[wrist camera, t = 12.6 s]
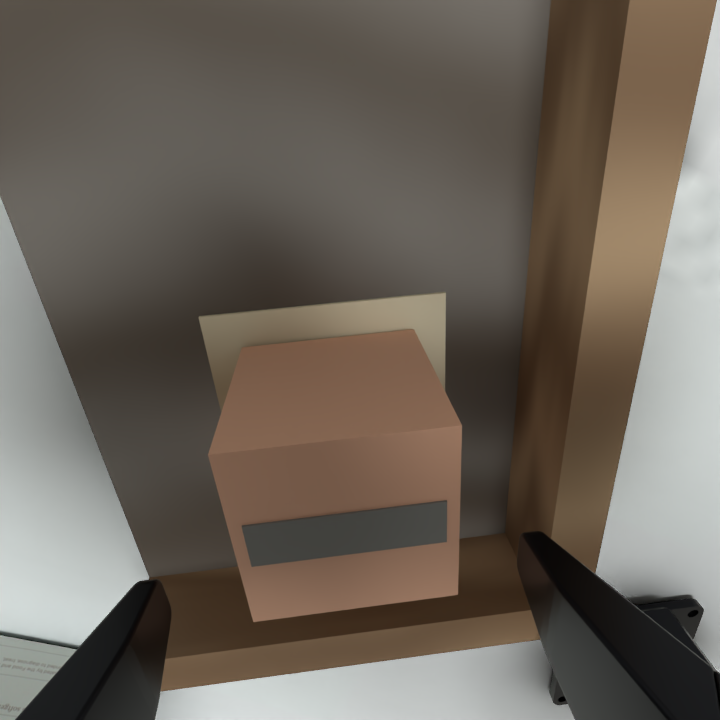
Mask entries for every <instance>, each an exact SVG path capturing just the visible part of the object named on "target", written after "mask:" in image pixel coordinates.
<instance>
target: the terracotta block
mask: <svg viewBox="0 0 720 720" xmlns="http://www.w3.org/2000/svg"><path fill="white" fill-rule="evenodd" d="M461 449H462V424H461V422H460V420H459V418H458V416H457V414H456V412H455V410H454V408H453V406H452V404H451V402H450V400H449V398H448V396H447V394H446V392H445V390H444V388H443V386H442V384H441V382H440V380H439V378H438V376H437V374H436V372H435V370H434V368H433V366H432V364H431V362H430V360H429V358H428V356H427V354H426V352H425V350H424V348H423V346H422V344H421V342H420V340H419V338H418V336H417V334H416V332H415V330H414V329H411V330H401V331H392V332H383V333H373V334H364V335H354V336H345V337H336V338H326V339H317V340H307V341H298V342H288V343H279V344H270V345H260V346H251V347H242V349H241V352H240V355H239V358H238V361H237V364H236V368H235V371H234V374H233V377H232V380H231V383H230V387H229V390H228V393H227V396H226V399H225V402H224V406H223V409H222V412H221V415H220V418H219V421H218V425H217V428H216V431H215V434H214V437H213V440H212V444H211V447H210V450H209V453H208V457H209V461H210V464H211V468H212V472H213V475H214V479H215V483H216V486H217V490H218V494H219V497H220V501H221V505H222V509H223V512H224V516H225V520H226V523H227V527H228V531H229V534H230V538H231V542H232V545H233V549H234V553H235V557H236V560H237V564H238V568H239V571H240V575H241V579H242V582H243V586H244V590H245V593H246V597H247V601H248V604H249V608H250V612H251V616H252V619H253V622H258V621H266V620H273V619H281V618H288V617H296V616H303V615H311V614H318V613H326V612H333V611H341V610H348V609H356V608H363V607H371V606H378V605H386V604H393V603H401V602H408V601H416V600H423V599H431V598H438V597H446V596H453V595H458V575H459V533H460V491H461Z"/></svg>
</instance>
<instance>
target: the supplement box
mask: <svg viewBox="0 0 720 720" xmlns="http://www.w3.org/2000/svg"><path fill="white" fill-rule="evenodd" d="M75 651H76V649H71V648H66V647H61V646H55V645H50V644H44V643H39V642H34V641H28V640H23V639H18V638H12V637H7V636H2V635H0V720H15V719H16V718H17V717H18V715H19V714H20V713H21V712H22V711H23V710H24V709H25V708H26V706H27V705H28V704H29V703H30V702H31V701H32V700H33V699H34V697H35V696H36V695H37V694H38V693H39V692H40V691H41V690H42V688H43V687H44V686H45V685H46V684H47V683H48V682H49V681H50V679H51V678H52V677H53V676H54V675H55V674H56V673H57V671H58V670H59V669H60V668H61V667H62V666H63V665H64V664H65V662H66V661H67V660H68V659H69V658H70V657H71V656H72V655H73V653H74V652H75Z"/></svg>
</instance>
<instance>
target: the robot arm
mask: <svg viewBox="0 0 720 720" xmlns="http://www.w3.org/2000/svg"><path fill="white" fill-rule="evenodd" d="M517 568H518V573H519V576H520V579H521V582H522V585H523V588H524V591H525V594H526V597H527V600H528V603H529V606H530V609H531V612H532V615H533V618H534V621H535V624H536V627H537V630H538V633H539V636H540V639H541V642H542V645H543V647H544V650H545V653H546V655H547V657H548V660H549V662H550V664H551V667H552V669H553V676H552V681H551V687H550V696H551V698H552V700H553V703H554V704H557V705H563V704H568V705H569V707H570V709H571V711H572V714H573V716H574V718H575V720H720V673H719V672H718V671H716V670H715V668H714V667H713V666H712V664H711V663H710V662H709V660H708V659H707V658H706V656H705V655H704V654H703V652H702V651H701V650H700V648H699V647H698V646H697V644H696V643H695V641H694V640H693V639H694V636H695V633H696V631H697V628H698V625H699V623H700V620H701V617H702V615H703V612H704V609H703V608H702V607H701V605H700V604H699V603H698V602H697V600H695V599H683V600H676V601H668V602H661V603H653V604H646V605H638V606H635V605H634V604H632V603H631V602H630V601H629V600H627V599H626V598H625V597H624V596H622V595H621V594H620V593H619V592H617V591H616V590H615V589H614V588H612V587H611V586H610V585H609V584H607V583H606V582H605V581H604V580H602V579H601V578H600V577H599V576H597V575H596V574H595V573H594V572H592V571H591V570H590V569H589V568H587V567H586V566H585V565H584V564H582V563H581V562H580V561H579V560H577V559H576V558H575V557H574V556H572V555H571V554H570V553H569V552H567V551H566V550H565V549H563V548H562V547H561V546H560V545H558V544H557V543H556V542H555V541H553V540H552V539H551V538H550V537H548V536H547V535H546V534H545V533H543V532H541V531H531V532H524V533H521V535H520V537H519V544H518V554H517ZM171 615H172V612H171V605H170V603H169V600H168V597H167V595H166V592H165V589H164V587H163V584H162V582H161V581H160V580H159V579H152V580H144V581H139V582H137V583H136V584H135V585H134V586H133V587H132V588H131V589H130V590H129V591H128V592H127V594H126V595H125V596H124V597H123V598H122V599H121V600H120V602H119V603H118V604H117V605H116V606H115V607H114V608H113V609H112V611H111V612H110V613H109V614H108V615H107V616H106V617H105V618H104V620H103V621H102V622H101V623H100V624H99V625H98V626H97V627H96V629H95V630H94V631H93V632H92V633H91V634H90V635H89V636H88V638H87V639H86V640H85V641H84V642H83V643H82V644H81V646H80V647H79V648H78V649H77V650H76V651H75V652H74V653H73V655H72V656H71V657H70V658H69V659H68V660H67V661H66V662H65V664H64V665H63V666H62V667H61V668H60V669H59V670H58V671H57V673H56V674H55V675H54V676H53V677H52V678H51V679H50V681H49V682H48V683H47V684H46V685H45V686H44V687H43V688H42V690H41V691H40V692H39V693H38V694H37V695H36V696H35V697H34V699H33V700H32V701H31V702H30V703H29V704H28V705H27V706H26V708H25V709H24V710H23V711H22V712H21V713H20V714H19V715H18V717H17V718H16V719H15V720H155V716H156V712H157V708H158V703H159V697H160V691H161V685H162V678H163V671H164V665H165V658H166V651H167V644H168V638H169V631H170V624H171Z"/></svg>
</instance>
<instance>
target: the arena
mask: <svg viewBox="0 0 720 720" xmlns="http://www.w3.org/2000/svg"><path fill="white" fill-rule="evenodd" d="M716 2H717V0H0V196H1V199H2V201H3V204H4V206H5V209H6V211H7V214H8V217H9V219H10V222H11V224H12V227H13V229H14V232H15V234H16V237H17V240H18V242H19V245H20V247H21V250H22V252H23V255H24V258H25V260H26V263H27V265H28V268H29V270H30V273H31V275H32V278H33V281H34V283H35V286H36V288H37V291H38V293H39V296H40V298H41V301H42V304H43V306H44V309H45V311H46V314H47V316H48V319H49V322H50V324H51V327H52V329H53V332H54V334H55V337H56V339H57V342H58V345H59V347H60V350H61V352H62V355H63V357H64V360H65V362H66V365H67V368H68V370H69V373H70V375H71V378H72V380H73V383H74V386H75V388H76V391H77V393H78V396H79V398H80V401H81V403H82V406H83V409H84V411H85V414H86V416H87V419H88V421H89V424H90V426H91V429H92V432H93V434H94V437H95V439H96V442H97V444H98V447H99V450H100V452H101V455H102V457H103V460H104V462H105V465H106V467H107V470H108V473H109V475H110V478H111V480H112V483H113V485H114V488H115V490H116V493H117V496H118V498H119V501H120V503H121V506H122V508H123V511H124V514H125V516H126V519H127V521H128V524H129V526H130V529H131V531H132V534H133V537H134V539H135V542H136V544H137V547H138V549H139V552H140V554H141V557H142V560H143V562H144V565H145V567H146V570H147V572H148V575H149V580H152V579H159V580H160V581H161V582H162V584H163V587H164V589H165V592H166V595H167V597H168V600H169V603H170V605H171V612H172V615H171V624H170V631H169V638H168V644H167V651H166V658H165V665H164V671H163V678H162V685H161V691H167V690H175V689H182V688H189V687H197V686H204V685H211V684H219V683H226V682H233V681H240V680H248V679H255V678H262V677H270V676H277V675H284V674H292V673H299V672H306V671H314V670H321V669H328V668H335V667H343V666H350V665H357V664H365V663H372V662H379V661H387V660H394V659H401V658H409V657H416V656H423V655H430V654H438V653H445V652H452V651H460V650H467V649H474V648H482V647H489V646H496V645H504V644H511V643H518V642H525V641H533V640H540V636H539V633H538V630H537V627H536V624H535V621H534V618H533V615H532V612H531V609H530V606H529V603H528V600H527V597H526V594H525V591H524V588H523V585H522V582H521V579H520V576H519V573H518V568H517V554H518V544H519V537H520V535H521V533H524V532H531V531H541V532H543V533H545V534H546V535H547V536H548V537H550V538H551V539H552V540H553V541H555V542H556V543H557V544H558V545H560V546H561V547H562V548H563V549H565V550H566V551H567V552H569V553H570V554H571V555H572V556H574V557H575V558H576V559H577V560H579V561H580V562H581V563H582V564H584V565H585V566H586V567H587V568H589V569H590V570H591V571H592V572H594V573H595V572H596V567H597V562H598V557H599V553H600V548H601V543H602V539H603V534H604V529H605V525H606V520H607V515H608V510H609V506H610V501H611V496H612V492H613V487H614V482H615V477H616V473H617V468H618V463H619V459H620V454H621V449H622V444H623V440H624V435H625V430H626V426H627V421H628V416H629V412H630V407H631V402H632V397H633V393H634V388H635V383H636V379H637V374H638V369H639V364H640V360H641V355H642V350H643V346H644V341H645V336H646V331H647V327H648V322H649V317H650V313H651V308H652V303H653V298H654V294H655V289H656V284H657V280H658V275H659V270H660V266H661V261H662V256H663V251H664V247H665V242H666V237H667V233H668V228H669V223H670V218H671V214H672V209H673V204H674V200H675V195H676V190H677V185H678V181H679V176H680V171H681V167H682V162H683V157H684V153H685V148H686V143H687V138H688V134H689V129H690V124H691V120H692V115H693V110H694V105H695V101H696V96H697V91H698V87H699V82H700V77H701V72H702V68H703V63H704V58H705V54H706V49H707V44H708V39H709V35H710V30H711V25H712V21H713V16H714V11H715V7H716ZM411 329H414V330H415V332H416V334H417V336H418V338H419V340H420V342H421V344H422V346H423V348H424V350H425V352H426V354H427V356H428V358H429V360H430V362H431V364H432V366H433V368H434V370H435V372H436V374H437V376H438V378H439V380H440V382H441V384H442V386H443V388H444V390H445V392H446V394H447V396H448V398H449V400H450V402H451V404H452V406H453V408H454V410H455V412H456V414H457V416H458V418H459V420H460V422H461V424H462V449H461V491H460V533H459V575H458V595H453V596H446V597H438V598H431V599H423V600H416V601H408V602H401V603H393V604H386V605H378V606H371V607H363V608H356V609H348V610H341V611H333V612H326V613H318V614H311V615H303V616H296V617H288V618H281V619H273V620H266V621H258V622H253V619H252V616H251V612H250V608H249V604H248V601H247V597H246V593H245V590H244V586H243V582H242V579H241V575H240V571H239V568H238V564H237V560H236V557H235V553H234V549H233V545H232V542H231V538H230V534H229V531H228V527H227V523H226V520H225V516H224V512H223V509H222V505H221V501H220V497H219V494H218V490H217V486H216V483H215V479H214V475H213V472H212V468H211V464H210V461H209V457H208V453H209V450H210V447H211V444H212V440H213V437H214V434H215V431H216V428H217V425H218V421H219V418H220V415H221V412H222V409H223V406H224V402H225V399H226V396H227V393H228V390H229V387H230V383H231V380H232V377H233V374H234V371H235V368H236V364H237V361H238V358H239V355H240V352H241V349H242V347H251V346H260V345H270V344H279V343H288V342H298V341H307V340H317V339H326V338H336V337H345V336H354V335H364V334H373V333H383V332H392V331H401V330H411Z"/></svg>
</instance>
